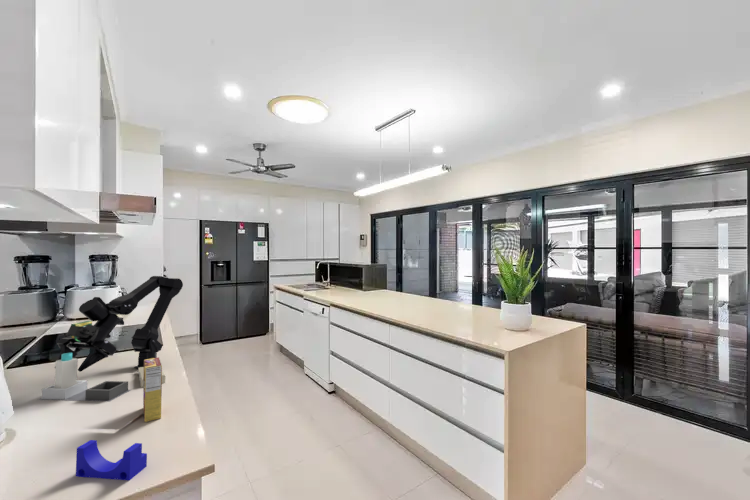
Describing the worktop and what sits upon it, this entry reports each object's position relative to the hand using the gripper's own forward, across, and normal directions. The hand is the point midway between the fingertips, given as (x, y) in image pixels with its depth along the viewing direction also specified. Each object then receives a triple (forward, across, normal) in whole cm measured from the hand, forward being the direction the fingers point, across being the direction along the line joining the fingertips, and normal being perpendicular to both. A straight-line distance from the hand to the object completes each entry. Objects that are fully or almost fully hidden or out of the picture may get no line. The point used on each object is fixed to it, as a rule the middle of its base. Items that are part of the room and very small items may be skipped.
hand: (67, 369), depth 106 cm
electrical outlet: (-6, +14, +19) cm, 25 cm away
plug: (+6, 0, +5) cm, 8 cm away
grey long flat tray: (+6, +7, +6) cm, 11 cm away
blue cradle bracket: (+26, +50, -14) cm, 58 cm away
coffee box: (-25, -52, +38) cm, 69 cm away
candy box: (+10, +37, +2) cm, 39 cm away
